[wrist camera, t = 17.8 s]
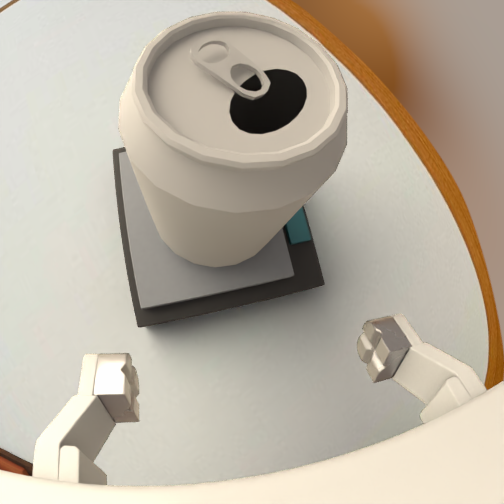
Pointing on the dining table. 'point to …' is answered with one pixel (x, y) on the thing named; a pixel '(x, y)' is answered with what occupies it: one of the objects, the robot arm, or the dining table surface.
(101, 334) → the dining table surface
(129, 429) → the dining table surface
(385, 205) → the dining table surface
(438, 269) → the dining table surface
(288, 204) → the can
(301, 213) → the scale
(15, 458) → the contraption on wooden base
